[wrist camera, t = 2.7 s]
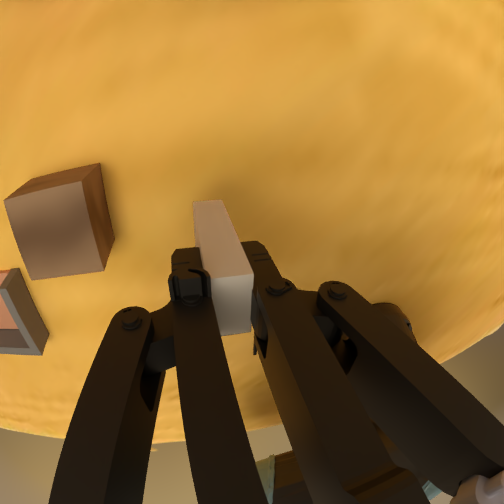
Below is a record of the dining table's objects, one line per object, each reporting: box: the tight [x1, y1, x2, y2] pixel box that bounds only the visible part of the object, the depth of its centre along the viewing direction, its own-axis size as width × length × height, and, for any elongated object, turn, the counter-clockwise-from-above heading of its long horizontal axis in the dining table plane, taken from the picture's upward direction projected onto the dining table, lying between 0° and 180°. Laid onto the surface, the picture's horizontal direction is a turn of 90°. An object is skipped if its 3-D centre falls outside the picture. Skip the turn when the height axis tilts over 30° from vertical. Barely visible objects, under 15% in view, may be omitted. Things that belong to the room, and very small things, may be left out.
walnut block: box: [3, 163, 115, 280], centre depth 16 cm, size 6×6×4 cm
